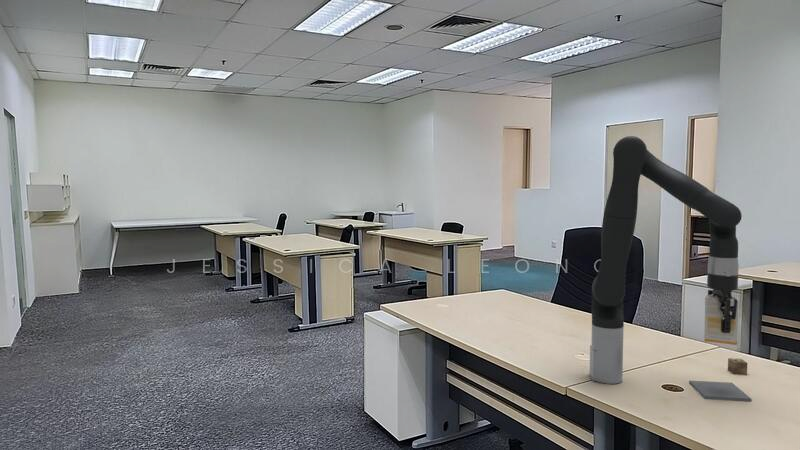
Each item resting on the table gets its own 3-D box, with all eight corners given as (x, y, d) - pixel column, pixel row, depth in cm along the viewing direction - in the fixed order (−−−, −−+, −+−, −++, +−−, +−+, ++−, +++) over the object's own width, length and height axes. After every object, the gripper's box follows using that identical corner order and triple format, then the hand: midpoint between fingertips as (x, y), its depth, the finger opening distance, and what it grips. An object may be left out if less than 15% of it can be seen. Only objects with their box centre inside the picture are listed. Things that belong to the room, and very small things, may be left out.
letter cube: (733, 374, 167) (733, 361, 166) (727, 370, 171) (728, 357, 170) (746, 375, 166) (747, 362, 166) (741, 370, 170) (741, 357, 170)
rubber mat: (704, 398, 148) (704, 396, 148) (689, 383, 160) (689, 380, 160) (751, 401, 146) (751, 398, 146) (731, 385, 158) (732, 382, 158)
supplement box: (737, 341, 152) (738, 297, 151) (737, 345, 148) (739, 300, 147) (704, 337, 156) (705, 294, 155) (703, 341, 152) (705, 297, 151)
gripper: (698, 268, 158) (697, 322, 159) (719, 276, 144) (716, 336, 145) (726, 268, 157) (723, 323, 158) (749, 276, 143) (746, 337, 144)
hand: (720, 329), depth 152 cm, fingers closed on supplement box, 6 cm apart
